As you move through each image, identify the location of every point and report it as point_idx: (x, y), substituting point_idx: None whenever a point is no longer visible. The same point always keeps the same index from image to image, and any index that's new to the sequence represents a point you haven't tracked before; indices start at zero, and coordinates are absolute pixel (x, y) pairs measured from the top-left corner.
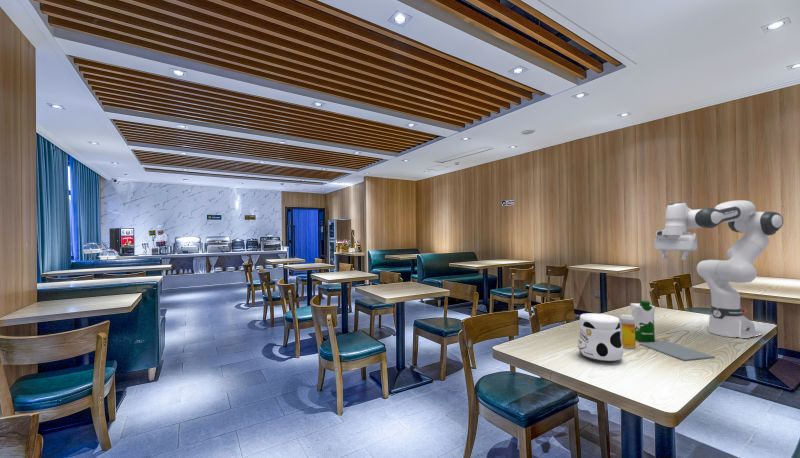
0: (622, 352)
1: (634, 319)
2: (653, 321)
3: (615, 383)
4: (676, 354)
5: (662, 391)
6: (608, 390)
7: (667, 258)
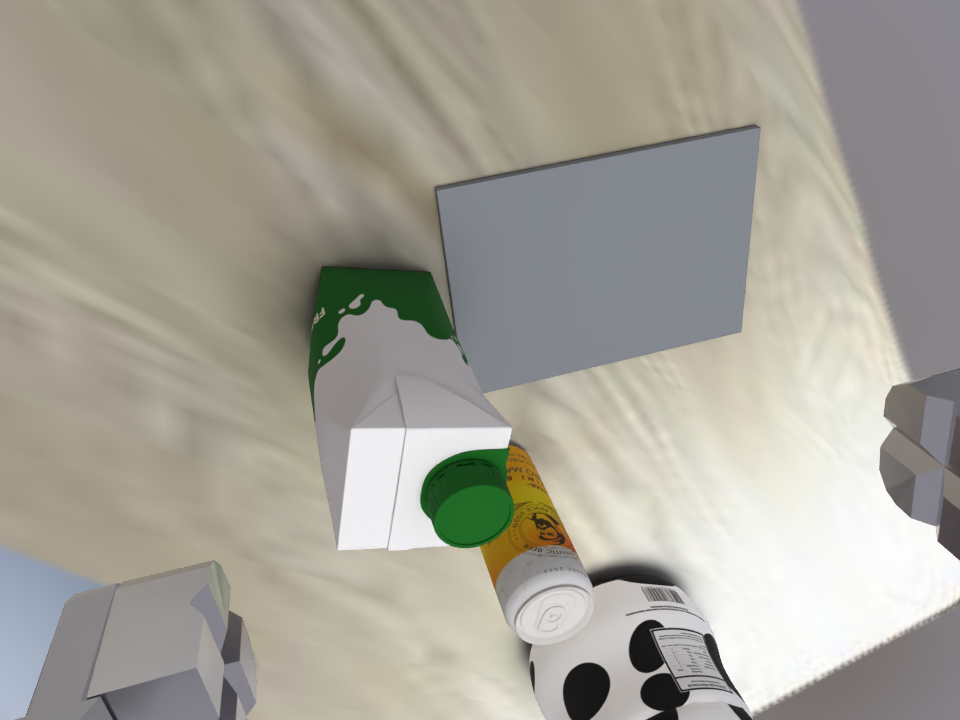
0: (699, 609)
1: (585, 575)
2: (463, 356)
3: (801, 645)
4: (673, 316)
5: (890, 558)
6: (826, 672)
7: (215, 574)
